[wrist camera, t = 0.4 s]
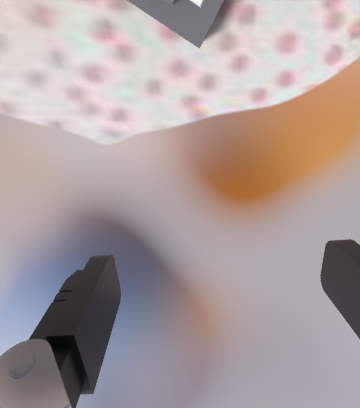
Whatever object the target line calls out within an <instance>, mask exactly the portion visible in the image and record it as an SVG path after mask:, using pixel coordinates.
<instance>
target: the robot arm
mask: <svg viewBox="0 0 360 408" xmlns="http://www.w3.org/2000/svg"><path fill="white" fill-rule="evenodd" d="M321 283H322V287H323V289H324V291H325V293H326V294H327V295H328V297H329V298H330V300H331V301H332V302H333V304H334V305H335V306H336V308H337V309H338V310H339V311H340V313H341V314H342V316H343V317H344V318H345V320H346V321H347V322H348V324H349V325H350V326H351V328H352V329H353V330H354V332H355V333H356V334H357V336H358V337H359V338H360V245H359V244H357V243H356V242H355V241H354V240H351V239H350V240H334V241H328V242H327V244H326V246H325V252H324V258H323V264H322V271H321ZM120 293H121V292H120V284H119V280H118V275H117V270H116V265H115V260H114V257H113V255H98V256H91V257H90V259H89V261H88V262H87V264H86V266H85V268H84V270H77V271H76V272H75V273H74V274H72V275H71V276H70V277H69V278H68V279H66V281H65V283H64V284H63V286H62V287H61V289H60V290H59V293H58V294H57V295H56V297H55V298H54V302H53V303H51V305H50V306H49V308H48V310H47V311H46V313H45V315H44V316H43V318H42V319H41V321H40V322H39V324H38V326H37V327H36V329H35V330H34V332H33V334H32V335H31V337H30V339H29V340H27V341H24V342H22V343H19V344H17V345H15V346H14V347H12V348H10V349H9V350H7V351H6V352H5V353H4V354H3V355H1V356H0V408H76V405H77V402H78V399H79V396H80V394H93V393H94V390H95V386H96V383H97V379H98V376H99V372H100V369H101V365H102V362H103V359H104V355H105V352H106V348H107V345H108V342H109V338H110V335H111V331H112V328H113V324H114V321H115V318H116V314H117V311H118V307H119V304H120V297H121V294H120Z"/></svg>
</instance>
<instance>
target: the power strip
mask: <svg viewBox="0 0 360 408" xmlns="http://www.w3.org/2000/svg"><path fill="white" fill-rule="evenodd" d="M127 1H129V2H130V3H132V4H133V5H135V6H136V7H138V8H139V9H141V10H142V11H144V12H145V13H147V14H148V15H150V16H151V17H153V18H154V19H156V20H157V21H159V22H160V23H162V24H163V25H165V26H166V27H168V28H169V29H171V30H172V31H174V32H175V33H177V34H178V35H180V36H181V37H183V38H184V39H186V40H187V41H189V42H190V43H192V44H193V45H195V46H197V47H198V48H200V46H201V44H202V42H203V41H204V39H205V37H206V35H207V33H208V31H209V29H210V27H211V25H212V23H213V21H214V19H215V17H216V15H217V13H218V11H219V9H220V7H221V5H222V3H223V1H224V0H204V1H203V4H202V6H201V8H200V7H199V6H197V5H196V4H194V3H193V2H192V1H190V0H127Z"/></svg>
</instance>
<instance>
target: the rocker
mask: <svg viewBox="0 0 360 408" xmlns="http://www.w3.org/2000/svg"><path fill="white" fill-rule="evenodd" d="M190 1H192V2H193V3H194V4H196V5H197V6H199V7H200V8H201V6H202V4H203V1H204V0H190Z"/></svg>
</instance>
